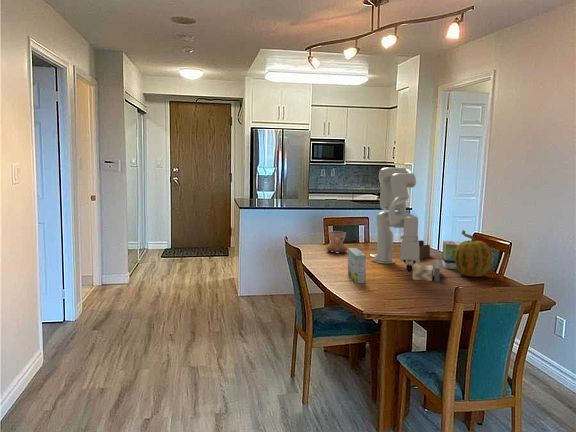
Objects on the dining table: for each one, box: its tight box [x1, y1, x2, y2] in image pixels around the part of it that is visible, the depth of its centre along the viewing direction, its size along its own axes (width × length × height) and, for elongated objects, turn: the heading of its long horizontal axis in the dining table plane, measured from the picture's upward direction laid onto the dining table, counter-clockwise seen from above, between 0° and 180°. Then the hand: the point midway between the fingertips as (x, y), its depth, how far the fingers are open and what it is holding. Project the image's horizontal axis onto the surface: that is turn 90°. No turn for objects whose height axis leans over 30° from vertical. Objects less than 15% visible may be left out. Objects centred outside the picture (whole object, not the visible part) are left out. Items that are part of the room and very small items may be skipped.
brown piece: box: [326, 230, 348, 253], centre depth 329 cm, size 18×14×14 cm
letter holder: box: [418, 240, 431, 260], centre depth 313 cm, size 10×20×14 cm, turn 139°
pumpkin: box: [455, 229, 493, 278], centre depth 261 cm, size 19×19×25 cm
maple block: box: [412, 263, 434, 282], centre depth 257 cm, size 10×12×6 cm
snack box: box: [347, 247, 367, 285], centre depth 253 cm, size 21×6×15 cm, turn 5°
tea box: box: [441, 240, 461, 270], centre depth 286 cm, size 15×10×15 cm, turn 168°
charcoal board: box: [433, 259, 441, 283], centre depth 259 cm, size 2×22×7 cm, turn 163°
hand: (409, 272), depth 259 cm, fingers closed
